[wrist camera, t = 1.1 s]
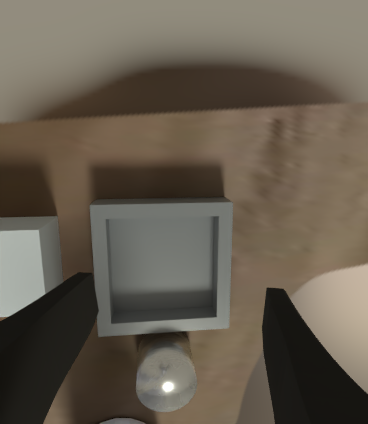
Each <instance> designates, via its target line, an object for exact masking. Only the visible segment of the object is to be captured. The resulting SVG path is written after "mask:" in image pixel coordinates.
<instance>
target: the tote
mask: <svg viewBox="0 0 368 424" xmlns="http://www.w3.org/2000/svg"><path fill="white" fill-rule="evenodd" d="M90 218H91V233H92V249H93V264H94V280H95V292H96V297H97V303H98V308H99V312H98V315H97V326H98V337H104V336H119V335H134V334H149V333H164V332H179V331H194V330H209V329H224V328H229V313H230V281H231V250H232V219H233V202H232V201H230V200H229V199H227V198H225V197H195V198H141V199H96V200H95V201H94V202H93V203H91V204H90Z"/></svg>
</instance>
